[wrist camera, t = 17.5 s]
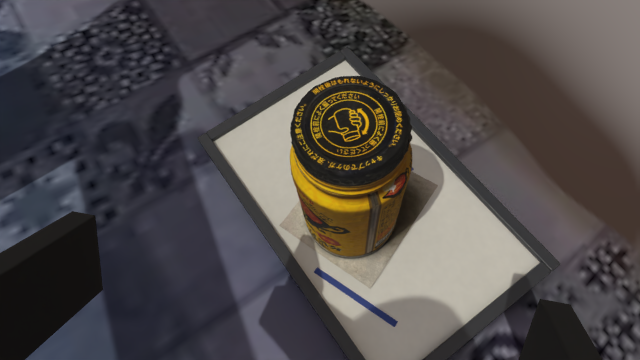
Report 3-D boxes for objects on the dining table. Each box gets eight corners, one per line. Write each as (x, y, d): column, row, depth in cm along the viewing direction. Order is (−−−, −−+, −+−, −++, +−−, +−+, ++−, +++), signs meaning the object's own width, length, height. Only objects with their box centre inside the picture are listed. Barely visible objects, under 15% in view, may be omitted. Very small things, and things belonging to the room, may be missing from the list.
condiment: (279, 226, 29) (237, 139, 18) (349, 136, 31) (350, 11, 20) (370, 289, 27) (385, 234, 16) (437, 187, 29) (490, 78, 18)
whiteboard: (201, 144, 33) (196, 137, 32) (347, 54, 35) (347, 45, 34) (383, 410, 25) (384, 411, 24) (554, 267, 27) (561, 263, 26)
